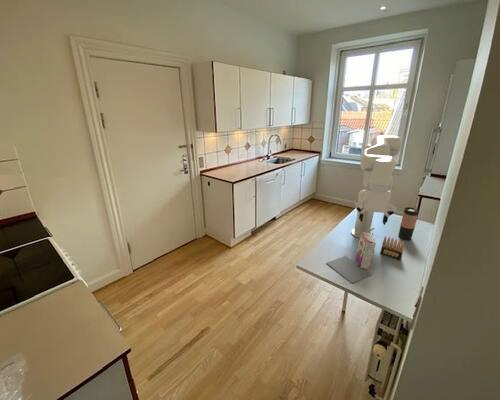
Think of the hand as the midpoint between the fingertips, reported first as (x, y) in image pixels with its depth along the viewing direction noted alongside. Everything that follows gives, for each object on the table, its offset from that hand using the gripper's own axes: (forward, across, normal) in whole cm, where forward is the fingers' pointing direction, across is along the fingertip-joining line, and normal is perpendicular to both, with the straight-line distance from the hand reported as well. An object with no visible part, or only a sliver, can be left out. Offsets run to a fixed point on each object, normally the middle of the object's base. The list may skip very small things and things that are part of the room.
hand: (372, 222), depth 112 cm
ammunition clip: (+31, -16, -22) cm, 42 cm away
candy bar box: (+30, 0, -10) cm, 32 cm away
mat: (+31, +6, -3) cm, 31 cm away
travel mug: (+31, -29, -48) cm, 64 cm away
